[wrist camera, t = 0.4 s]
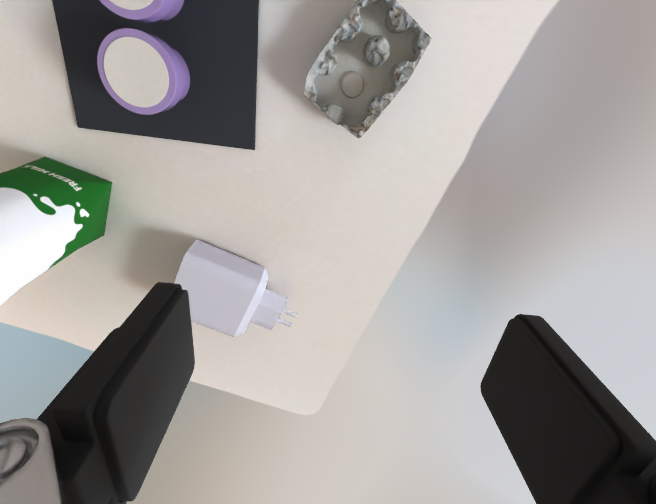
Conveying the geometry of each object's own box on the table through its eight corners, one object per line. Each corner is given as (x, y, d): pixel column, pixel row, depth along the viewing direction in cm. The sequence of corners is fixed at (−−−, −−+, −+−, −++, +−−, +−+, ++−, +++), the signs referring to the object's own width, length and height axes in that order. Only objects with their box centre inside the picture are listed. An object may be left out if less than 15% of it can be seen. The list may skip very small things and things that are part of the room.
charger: (281, 332, 47) (177, 292, 44) (310, 283, 44) (198, 236, 40) (277, 357, 43) (161, 315, 40) (308, 305, 39) (183, 254, 36)
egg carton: (354, 138, 35) (357, 145, 32) (298, 87, 33) (294, 89, 29) (429, 47, 32) (442, 43, 28) (371, -17, 29) (377, -30, 26)
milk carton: (122, 178, 37) (-66, 268, 19) (110, 245, 41) (-55, 372, 23) (36, 144, 35) (-256, 210, 18) (33, 217, 39) (-211, 332, 21)
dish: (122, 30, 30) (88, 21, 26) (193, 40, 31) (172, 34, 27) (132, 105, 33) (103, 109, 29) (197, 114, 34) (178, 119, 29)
